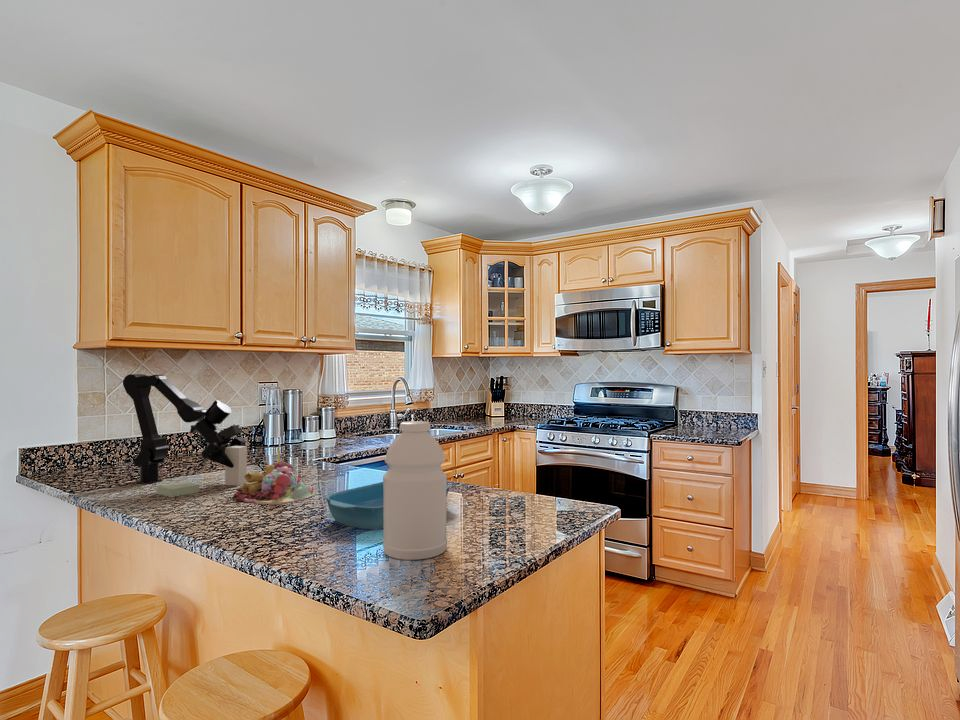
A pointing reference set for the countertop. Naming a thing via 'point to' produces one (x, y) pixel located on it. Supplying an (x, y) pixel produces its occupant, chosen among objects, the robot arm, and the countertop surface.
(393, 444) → the bottle
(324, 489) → the countertop surface
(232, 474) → the cream block
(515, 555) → the countertop surface
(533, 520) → the countertop surface
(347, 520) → the casserole dish
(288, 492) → the candy landscape model
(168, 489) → the trivet
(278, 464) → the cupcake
